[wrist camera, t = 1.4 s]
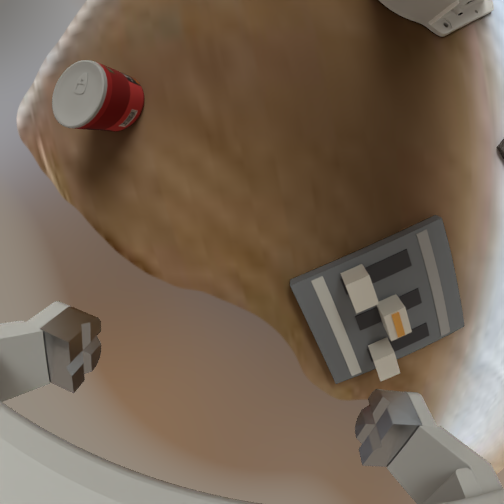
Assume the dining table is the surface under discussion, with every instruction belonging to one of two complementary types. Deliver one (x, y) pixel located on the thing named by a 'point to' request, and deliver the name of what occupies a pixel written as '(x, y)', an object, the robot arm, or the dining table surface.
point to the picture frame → (501, 148)
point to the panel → (385, 285)
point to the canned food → (96, 98)
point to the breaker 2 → (384, 359)
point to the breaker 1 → (360, 288)
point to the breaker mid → (394, 317)
